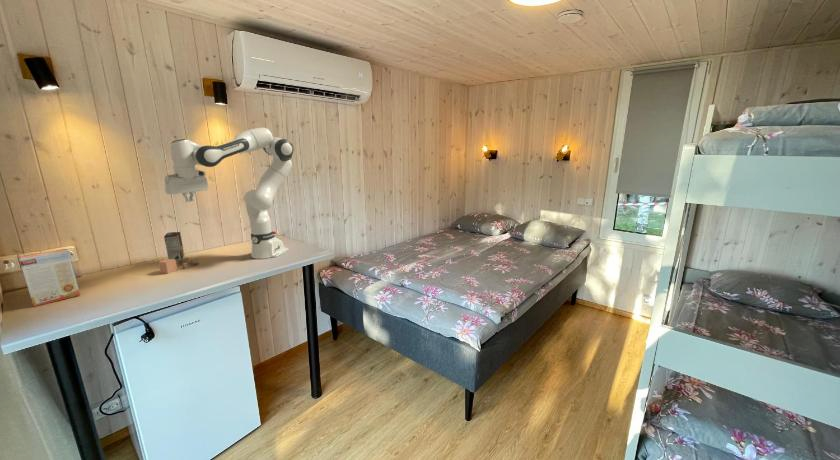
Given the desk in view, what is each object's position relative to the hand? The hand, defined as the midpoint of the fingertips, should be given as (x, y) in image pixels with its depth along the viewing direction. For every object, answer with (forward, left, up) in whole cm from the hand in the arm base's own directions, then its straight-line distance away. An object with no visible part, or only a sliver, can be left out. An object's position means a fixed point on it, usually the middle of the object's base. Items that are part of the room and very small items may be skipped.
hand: (189, 201), depth 170 cm
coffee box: (-10, -30, -37) cm, 49 cm away
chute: (-1, -15, -37) cm, 40 cm away
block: (+6, -15, -36) cm, 40 cm away
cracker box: (+44, -30, -37) cm, 65 cm away
